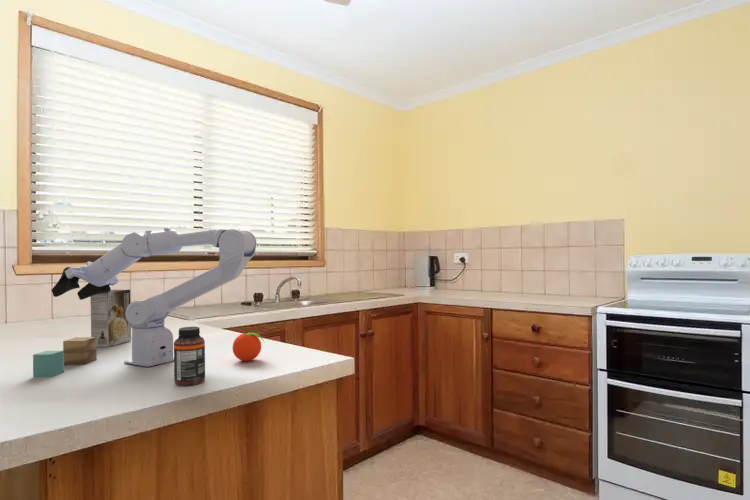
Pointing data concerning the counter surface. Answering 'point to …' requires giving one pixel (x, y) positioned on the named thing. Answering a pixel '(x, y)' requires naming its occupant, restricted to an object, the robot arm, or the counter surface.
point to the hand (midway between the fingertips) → (67, 294)
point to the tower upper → (79, 345)
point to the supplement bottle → (189, 357)
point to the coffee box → (110, 318)
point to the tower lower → (80, 358)
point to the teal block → (48, 363)
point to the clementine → (247, 346)
